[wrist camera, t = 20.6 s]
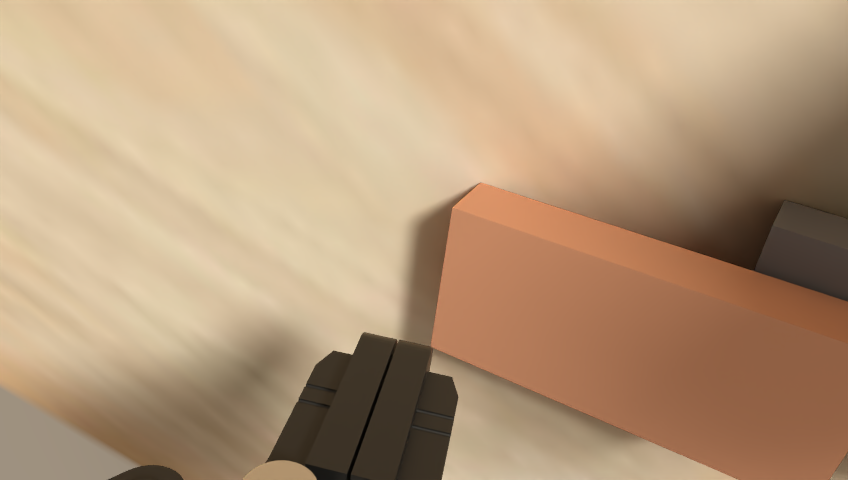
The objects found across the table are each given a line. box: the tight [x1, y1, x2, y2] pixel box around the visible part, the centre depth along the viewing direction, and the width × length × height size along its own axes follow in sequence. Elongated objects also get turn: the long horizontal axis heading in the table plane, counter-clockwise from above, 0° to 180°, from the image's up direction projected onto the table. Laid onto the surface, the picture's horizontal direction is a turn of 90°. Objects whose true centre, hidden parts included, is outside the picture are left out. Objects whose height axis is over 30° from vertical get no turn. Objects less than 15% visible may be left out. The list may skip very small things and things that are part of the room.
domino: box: [431, 183, 848, 480], centre depth 18 cm, size 2×5×11 cm
